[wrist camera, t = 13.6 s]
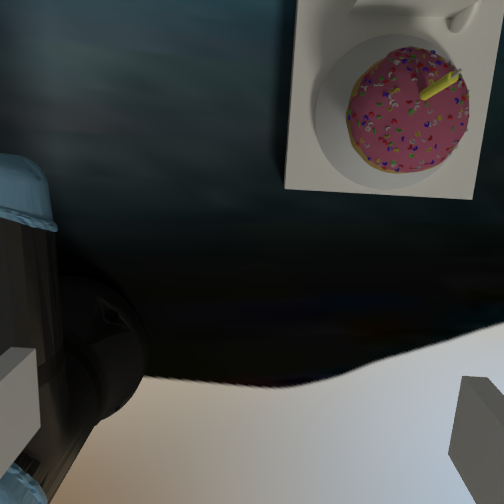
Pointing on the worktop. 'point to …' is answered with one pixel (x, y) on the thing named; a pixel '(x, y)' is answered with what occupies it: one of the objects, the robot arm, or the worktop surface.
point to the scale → (359, 61)
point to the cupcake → (408, 111)
